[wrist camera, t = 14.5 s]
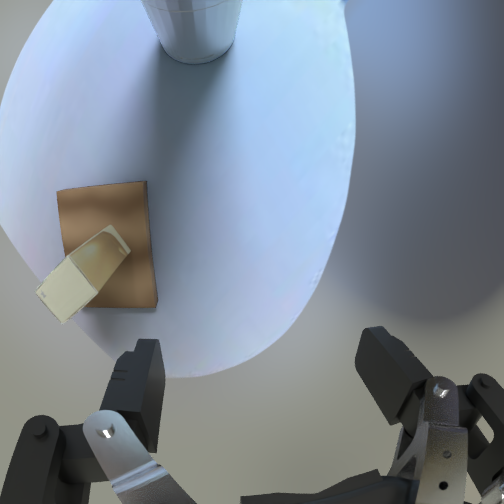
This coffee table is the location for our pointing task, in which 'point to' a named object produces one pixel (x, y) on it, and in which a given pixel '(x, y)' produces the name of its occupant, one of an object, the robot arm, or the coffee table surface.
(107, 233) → the skincare box
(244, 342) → the coffee table surface
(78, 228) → the walnut board
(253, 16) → the coffee table surface
